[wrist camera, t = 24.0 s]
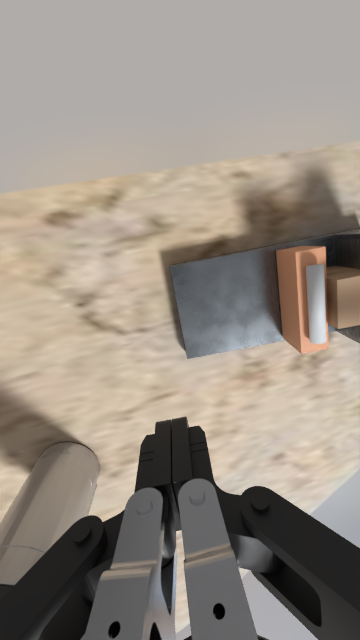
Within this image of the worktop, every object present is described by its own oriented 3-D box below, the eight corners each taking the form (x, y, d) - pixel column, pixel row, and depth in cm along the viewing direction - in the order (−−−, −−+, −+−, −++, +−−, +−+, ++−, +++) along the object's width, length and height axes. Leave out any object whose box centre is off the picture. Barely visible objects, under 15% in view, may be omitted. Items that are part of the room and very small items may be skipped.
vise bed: (360, 319, 36) (411, 340, 29) (186, 352, 37) (191, 382, 29) (360, 228, 33) (419, 224, 25) (169, 265, 33) (169, 272, 26)
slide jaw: (305, 333, 34) (336, 354, 28) (282, 337, 34) (308, 359, 28) (301, 245, 31) (334, 246, 25) (275, 250, 31) (302, 253, 25)
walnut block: (335, 305, 33) (377, 321, 27) (304, 311, 34) (337, 329, 27) (334, 265, 32) (378, 272, 25) (302, 272, 32) (337, 280, 25)
